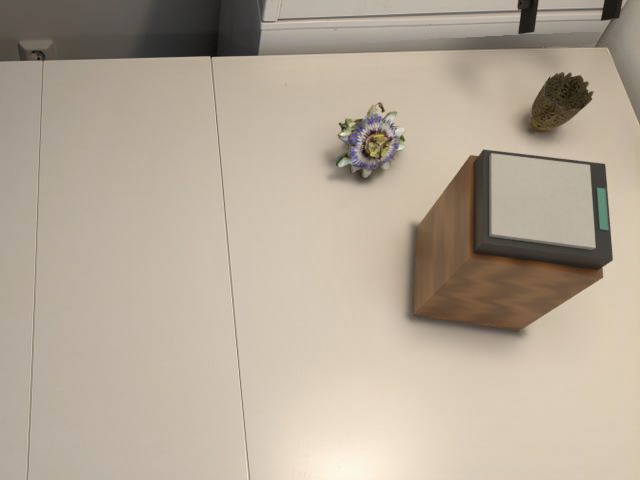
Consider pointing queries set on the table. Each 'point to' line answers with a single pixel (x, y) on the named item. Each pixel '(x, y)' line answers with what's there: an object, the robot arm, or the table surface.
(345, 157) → the passion flower
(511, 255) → the kitchen scale
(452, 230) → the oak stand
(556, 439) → the table surface
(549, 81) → the sea sponge
